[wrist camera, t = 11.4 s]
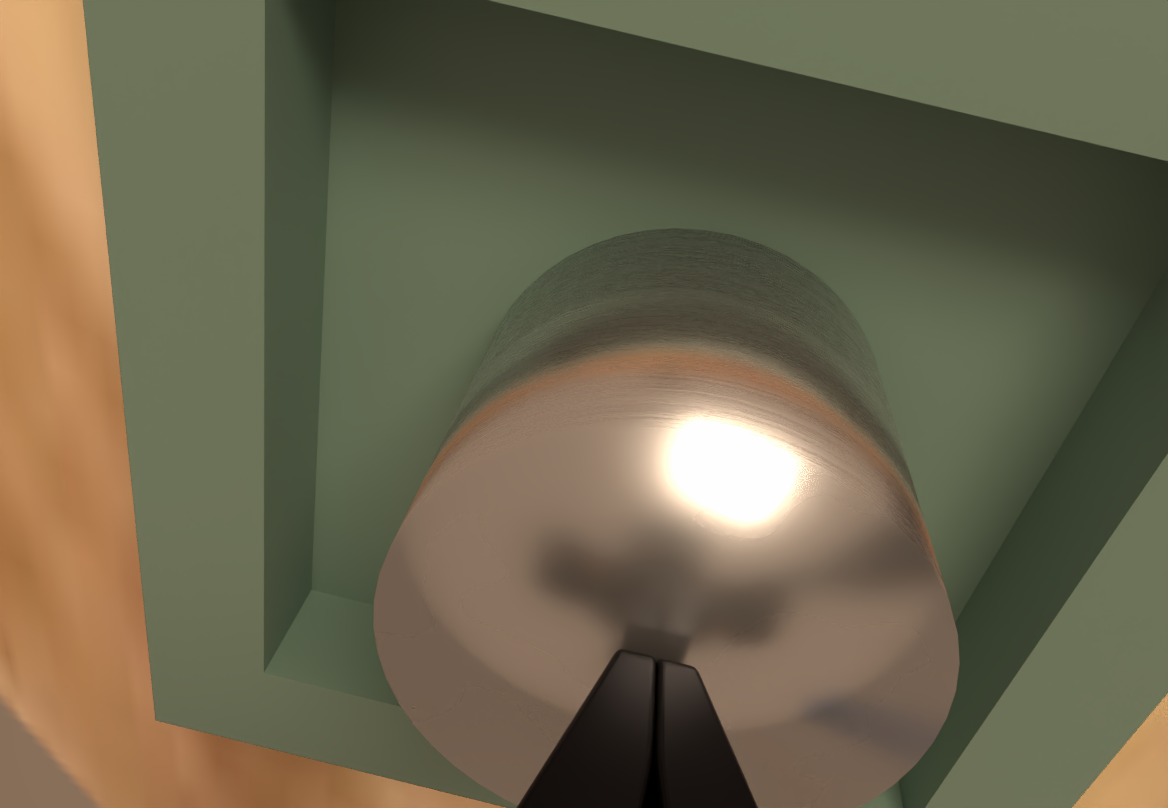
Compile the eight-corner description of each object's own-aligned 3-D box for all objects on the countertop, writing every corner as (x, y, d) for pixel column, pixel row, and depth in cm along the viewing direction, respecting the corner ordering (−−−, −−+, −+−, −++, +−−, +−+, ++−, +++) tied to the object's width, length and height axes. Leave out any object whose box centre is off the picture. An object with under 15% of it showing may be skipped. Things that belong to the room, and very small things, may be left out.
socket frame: (1495, -1, 10) (1716, 37, 8) (943, 793, 18) (974, 924, 16) (196, -304, 10) (47, -353, 8) (225, 615, 18) (155, 720, 16)
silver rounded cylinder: (952, 290, 12) (1079, 526, 8) (801, 604, 15) (830, 894, 11) (516, 180, 12) (401, 354, 8) (458, 517, 15) (354, 772, 11)
